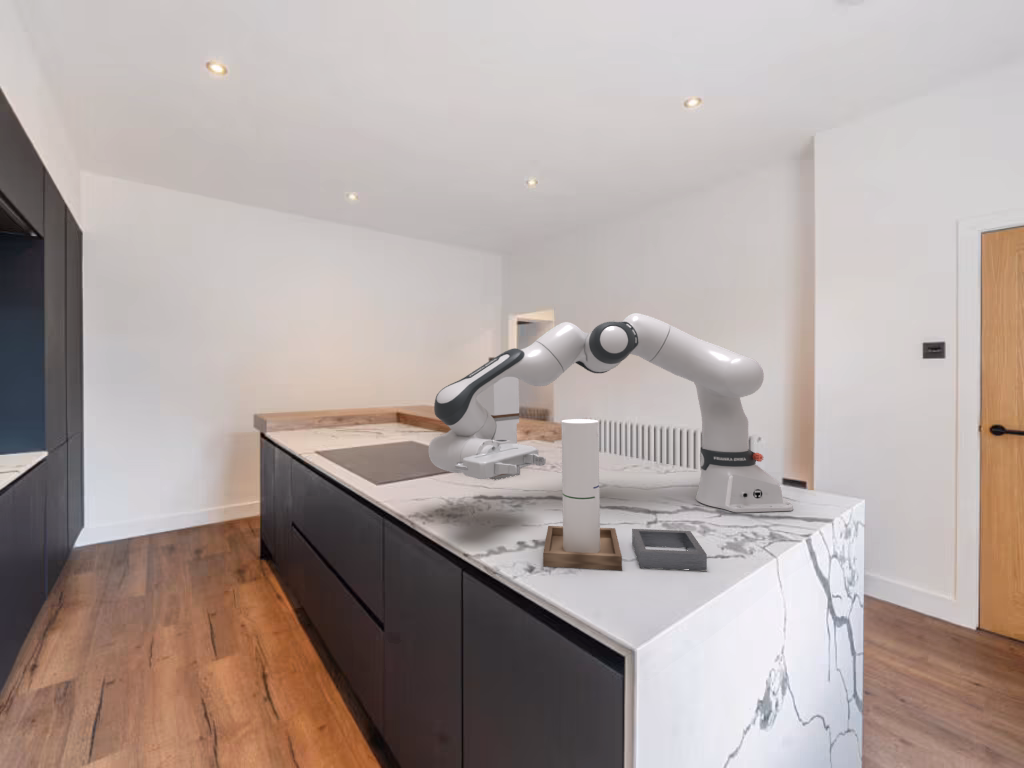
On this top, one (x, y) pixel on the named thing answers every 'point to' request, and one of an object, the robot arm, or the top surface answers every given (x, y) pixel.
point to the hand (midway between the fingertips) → (531, 465)
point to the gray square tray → (668, 558)
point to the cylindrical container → (580, 485)
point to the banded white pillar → (503, 410)
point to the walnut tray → (603, 559)
